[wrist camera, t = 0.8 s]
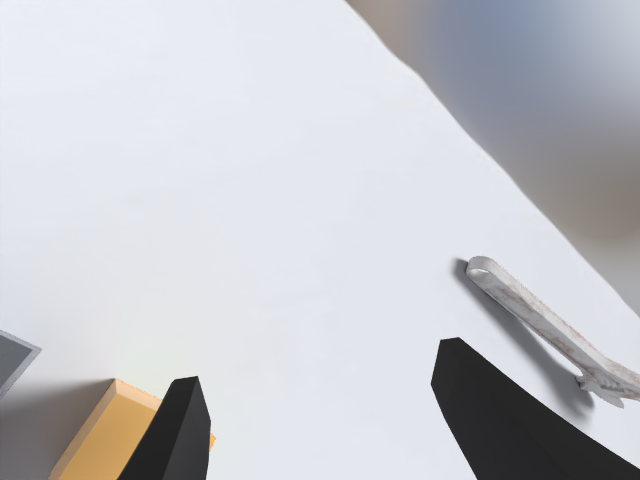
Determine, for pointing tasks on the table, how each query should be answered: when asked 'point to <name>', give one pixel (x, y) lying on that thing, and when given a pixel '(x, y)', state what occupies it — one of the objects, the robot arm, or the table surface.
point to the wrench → (556, 333)
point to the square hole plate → (14, 359)
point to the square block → (109, 435)
